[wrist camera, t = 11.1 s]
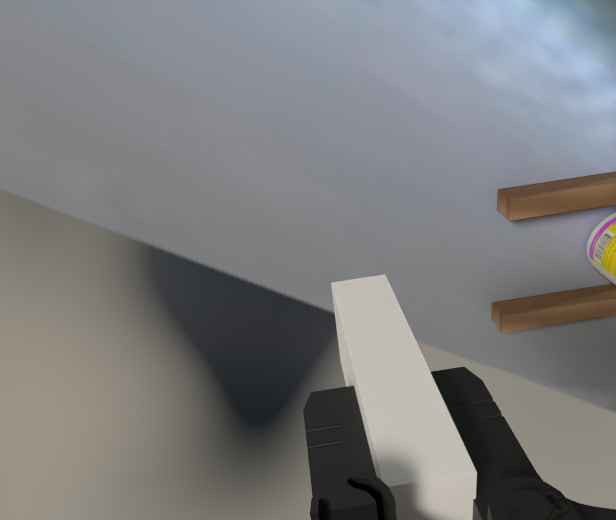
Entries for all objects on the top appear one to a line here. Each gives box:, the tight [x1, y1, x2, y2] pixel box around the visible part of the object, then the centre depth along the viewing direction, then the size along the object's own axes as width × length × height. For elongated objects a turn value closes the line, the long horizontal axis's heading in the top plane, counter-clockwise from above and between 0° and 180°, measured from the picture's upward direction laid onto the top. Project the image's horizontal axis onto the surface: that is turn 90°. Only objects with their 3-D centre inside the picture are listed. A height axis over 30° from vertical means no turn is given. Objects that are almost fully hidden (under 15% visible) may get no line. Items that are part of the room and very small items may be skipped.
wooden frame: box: [491, 172, 616, 333], centre depth 47 cm, size 14×22×4 cm, turn 97°
